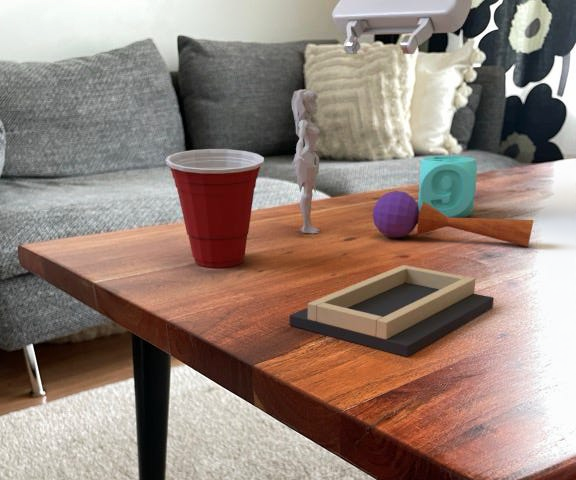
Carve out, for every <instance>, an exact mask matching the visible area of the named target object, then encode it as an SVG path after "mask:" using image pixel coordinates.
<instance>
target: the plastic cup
mask: <svg viewBox="0 0 576 480" xmlns="http://www.w3.org/2000/svg"><path fill="white" fill-rule="evenodd" d="M264 161H265V158H264V157H263V156H262V155H260V154H258V153H257V152H256V153H255V152H252V151H246V150H239V149H229V148H227V149H226V148H218V149H217V148H206V149H191V150H186V151H180V152H176V153H173V154H170V155H168V156H167V157H166V158H165V161H164V162H165V164H166V165H167V166H168V168H169V169H170V172H171V174H172V178H173V180H174V185H175V188H176V190H177V196H178V199H179V204H180V209H181V213H182V217H183V222H184V224H185V225H184V226H185V230H186V235H188V240H189V245H190V250H191V255H192V258H193V259H194V260H193V261H194V263H195V264H196V265H197V266H201V267H203V268H230V267H236V266H239V265H241V264H243V263H244V259H245V256H246V248H247V241H248V235H249V231H250V224H251V217H252V208H253V203H254V202H253V201H254V194H255V188H256V185H257V179H258V178H259V172H260V170H261V167H263V166H264Z"/></svg>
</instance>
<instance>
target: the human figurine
mask: <svg viewBox="0 0 576 480" xmlns="http://www.w3.org/2000/svg"><path fill="white" fill-rule="evenodd" d="M317 100H318V93H316V92H315V91H314V90H313V91H312V90H307V89H305V88H304V89H299V90H295V91H293V94H292V98H291V110H292V112H293V119H294V123H295V134H296V136H297V137H298V138H299V139H298V141H297V143H296V148H295V150H296V151H295V152H296V153H295V154H294V158H293V160H292V162H291V163H290V165H292V167H294V170H295V173H296V178H297V185H298V186H297V187H298V189H299V193H300V192H302V189H303V194H302V196H301V198H300V202H299V205H298V207H299V210H300V213H301V215H302V219H303V221H302V222H303V225H302V227H301V228H300V229H299V230H300V231H301V232H302V233H303V234H314V235H315V234H318V233H319V232H320V229H318V228H316V227H314V226H313V225H312V220H311V213H312V202H313V201H312V200H313V190H314V193H315V194H316V193H317V176H318V174H319V170H320V157H319V155H318V154H317V152H318V151H319V149H317V148H316V144H317V137H318V136H319V135H320V134H321V130H320V129H319V127H318V126H317V125H315V124H314V123H313V122H312V115H316V114H317V113H318V111H319V108H318V107H319V104H318V103H317Z"/></svg>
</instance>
